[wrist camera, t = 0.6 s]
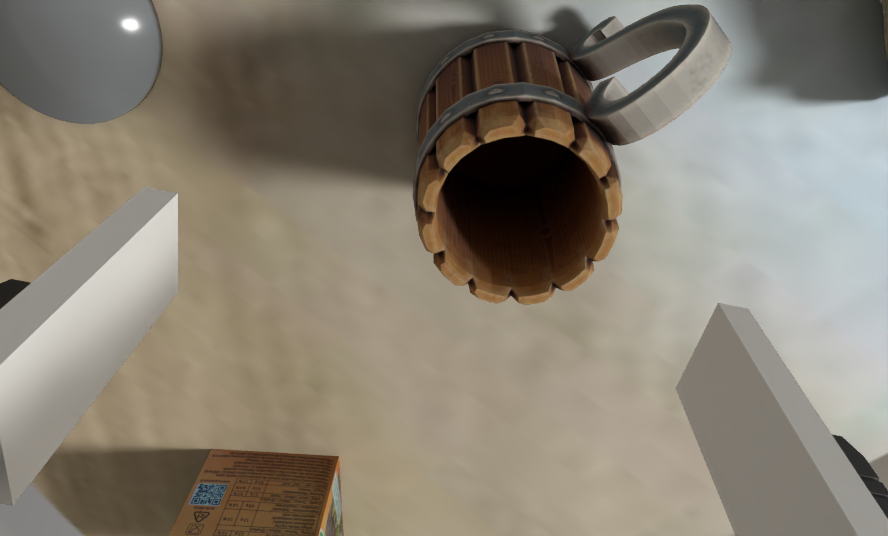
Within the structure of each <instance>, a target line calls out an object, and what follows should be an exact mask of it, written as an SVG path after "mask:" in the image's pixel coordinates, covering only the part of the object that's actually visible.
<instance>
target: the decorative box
mask: <svg viewBox="0 0 888 536" xmlns="http://www.w3.org/2000/svg"><path fill="white" fill-rule="evenodd" d="M879 1H880V2H881V4H882V7H883V18H884V30H885V32H884V42H885V49H886V53H887V60H888V0H879Z"/></svg>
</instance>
